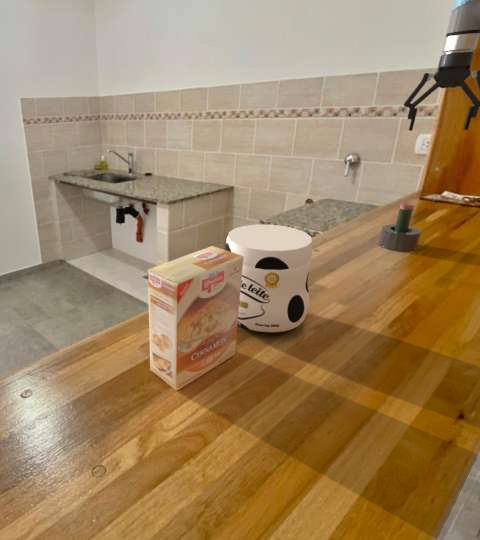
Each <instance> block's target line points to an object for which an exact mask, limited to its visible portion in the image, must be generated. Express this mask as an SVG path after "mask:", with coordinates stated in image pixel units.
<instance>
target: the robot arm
mask: <svg viewBox="0 0 480 540" xmlns="http://www.w3.org/2000/svg"><path fill="white" fill-rule="evenodd" d="M448 21H449V22H448V26H447V30H446V34H445V39H444V42H443V46H442V49H441V53H443V54H441V55H440V58H439V61H438V65H437V69H436V72H435V73H429V72H425V73H423V74H422V78H421V80H420V82H419V83H418V84H417V86H416V87H415V88H414V90H413V91H412V92H411V94H409V96H408V98H407V99H406V100H405V101H404V103H403V107H405V108H408V114H407V120H410V123H409V127H408V131H411V132H412V131H413V128H414V125H415V121H416V116H417V112H418V108H417V106H418V105H419V104H421V103H422V102H423V101H424V100H425V99H426V98H428V97H429V96H430V95H431V94H432V93H433V92H434V91H436V90H437V89H438V88H440V89H448V88H451V89H454V88H457V87H459V88H460V89H461V91H462V92H463V94H465V96H466V97H467V98H468V100H469V102H470V103H471V104H472V105H470V106H469V107H468V110H467V114H466V117H465V120H464V124H463V128H462V130H463V131H468V130H469V127H470V124H471V121H472V119H475V118H476V117H477V116H478V112H479V109H480V100H479V99H478V97H477V96H476V95H475V93H474V92H473V91H472V89H471V88H470V87H469V85H468V84H467V82H466V80H467V79H468V78H469V77H470V76H472V78H473V79H474V80H475V84H476V87H477V91H478V93H479V95H480V68H479V69H476V70H471V66H472V64H473V63H472V62H473V60H474V57H475V56H474V55H475V53H474V50H476V49H477V46H478V41H479V38H480V0H454V3H453V7H452V9H451V12H450V17H449V20H448ZM432 78H433V80H434V81H435V83H434V84H433V85H432V86H430V87H429V88H428V89H427V90H425V92H424V93H422V95H420V96H419V97H418V98H417V99H416V100H414V99H415V98H416V96H417V95H418V93H420V91H421V90H422V88H424V86H425V85H426V83H427V82H429V81H431V79H432ZM413 100H414V101H413Z"/></svg>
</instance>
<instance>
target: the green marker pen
mask: <svg viewBox="0 0 480 540" xmlns="http://www.w3.org/2000/svg"><path fill="white" fill-rule="evenodd" d="M414 207H415V204H414V203H411V202H401V203H400V206H399V209H398V215H397V218H396V222H395V225H396V226H395V230H394V231H397V232H407V231H408V227H409V226H410V223H411V220H412V215H413V212H414V211H413V210H414Z"/></svg>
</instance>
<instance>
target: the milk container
mask: <svg viewBox="0 0 480 540" xmlns="http://www.w3.org/2000/svg"><path fill="white" fill-rule="evenodd" d="M224 250H226V251H230V252H233V253H236V254H238V255H241V256H243V257H244V258H243V267H242V278H241V290H240V301H239V313H238V324H237V328H240V329H242V330H245V331H249V332H253V333H256V334H270V335H274V334H280V333H287V332H289V331H292V330H295V329H297V328H298V327H299V326H300V325H301V324H302V323H303V322H304V321H305V318H306V316H307V314H308V311H309V308H310V292H309V286H308V282H309V281H308V279H309V273H310V269H311V265H312V260H311V259H312V257H313V256H312V255H313V241H312V236H311V235H309V234H308V233H307V232H305V231H303V230H300V229H297V228H295V227H289V226H285V225H277V224H247V225H243V226H238V227H235V228H233V229H232V230H230V231H229V232H228V234H227V237H226V242H225V249H224Z"/></svg>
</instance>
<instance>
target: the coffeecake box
mask: <svg viewBox="0 0 480 540" xmlns="http://www.w3.org/2000/svg"><path fill="white" fill-rule="evenodd" d="M243 258H244V257H243V256H241V255H238V254H236V253H233V252H230V251H226V250H225V249H223V248H220V247H217V246H214V245H211V246H209V247H206V248H203V249H200V250H197V251H195V252H192V253H189V254H187V255H183V256H181V257H178V258H176V259H172V260H170V261H167V262H165V263H161V264H159V265H156V266H154V267H151V268H149V269H147V281H148V282H147V286H148V287H147V288H148V289H147V290H148V292H147V293H148V322H149V323H148V327H149V328H148V330H149V334H148V335H149V370H150V372H152V373H154V374H155V375H156V376H158V378H160V379H161V380H163V381H164V382H165V383H166V384H167V385H168V386H170V387H171V388H172V389H173V390H175V391H177V392H178V391H179V390H181V389H182V388H184V387H187V385H189V384H190V383H192V382H194V381H195V380H197V379H198V378H200V377H201V376H203V375H205V374H206V373H208V372H209V371H211V370H213V369H214V368H216V367H218V366H219V365H220V364H222V363H223V362H225V361H227V360H229V359H230V358H232V357H233V356H235V355H236V347H237V336H238V326H237V324H238V313H239V301H240V290H241V278H242V267H243Z"/></svg>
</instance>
